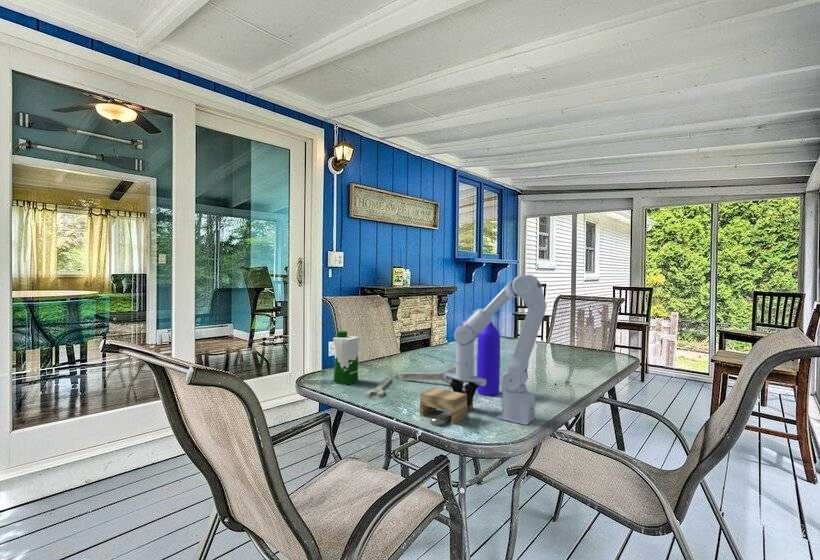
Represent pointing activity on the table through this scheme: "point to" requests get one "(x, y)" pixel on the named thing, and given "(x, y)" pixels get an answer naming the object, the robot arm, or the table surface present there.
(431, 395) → the wooden bridge block
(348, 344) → the milk carton
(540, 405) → the table surface
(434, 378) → the wrench
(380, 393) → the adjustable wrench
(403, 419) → the table surface
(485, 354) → the bottle
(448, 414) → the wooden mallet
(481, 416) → the table surface
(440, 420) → the token
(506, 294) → the robot arm
